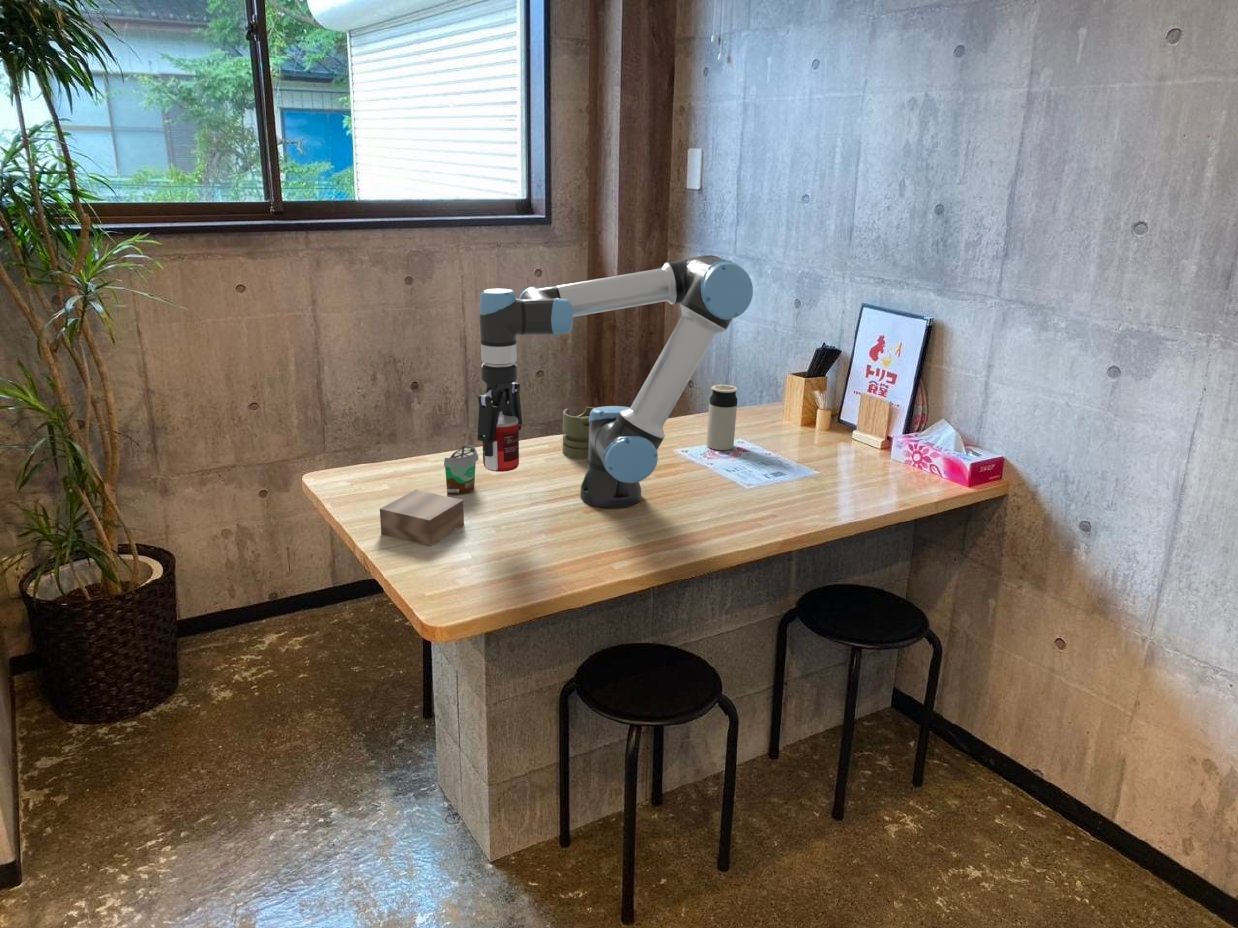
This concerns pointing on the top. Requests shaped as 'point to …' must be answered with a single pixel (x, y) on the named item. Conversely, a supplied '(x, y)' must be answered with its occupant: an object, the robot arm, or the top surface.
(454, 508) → the walnut stand
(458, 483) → the food container
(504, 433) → the canned food
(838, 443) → the top surface
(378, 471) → the top surface
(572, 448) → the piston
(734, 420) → the travel mug
